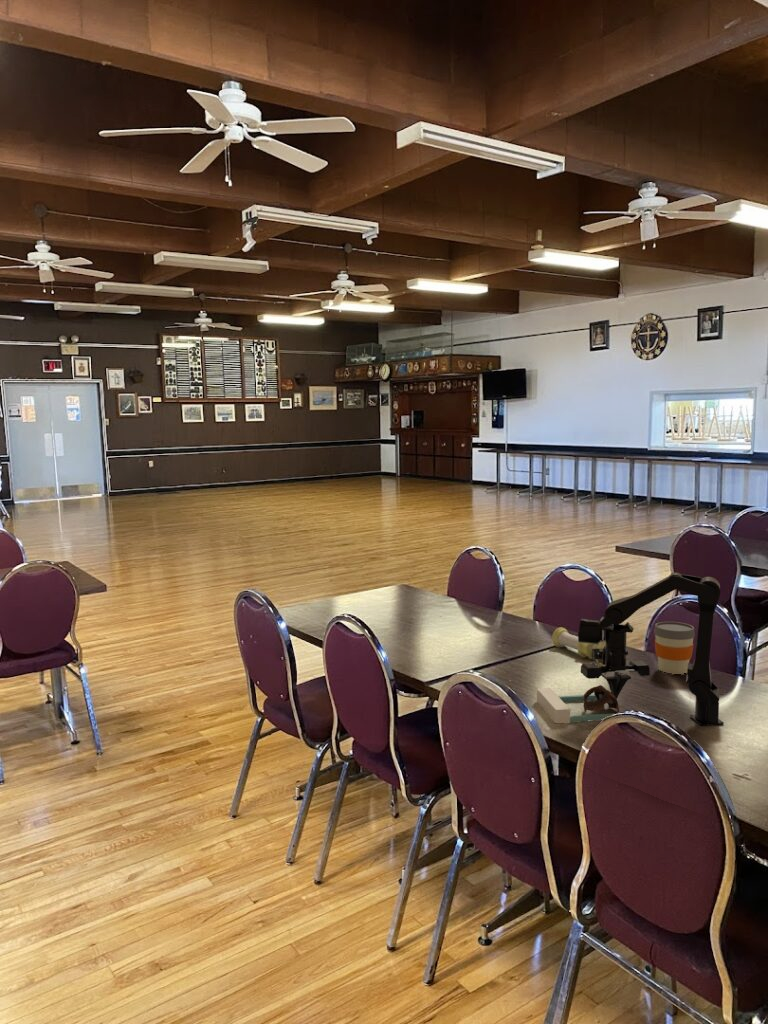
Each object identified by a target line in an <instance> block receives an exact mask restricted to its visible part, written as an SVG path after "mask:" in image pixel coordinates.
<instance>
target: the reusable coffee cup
mask: <svg viewBox="0 0 768 1024" xmlns="http://www.w3.org/2000/svg"><path fill="white" fill-rule="evenodd" d="M653 634H654V636H655V637H654V638H655V640H654V649H655V655H656V656H657V663H658V670H659V671H660V670H661V671H663V672H662V673H664V672H667V673H672V674H671V675H674V674H681V675H685V674H684V673H686V674H688V672H687V668H688V663H690V660H691V659H692V655H693V650H694V643H693V642H694V638H695V636H696V635H695V634H696V633H695V627H694V626H693V625H691V624H689V623H685V622H679V621H661V622H656V623H655V625H654V631H653ZM661 671H660V672H661ZM667 673H666V674H667Z"/></svg>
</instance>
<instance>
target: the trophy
mask: <svg viewBox="0 0 768 1024" xmlns="http://www.w3.org/2000/svg"><path fill="white" fill-rule="evenodd" d="M551 641H552V644H553V646H555V647H557V648H563V647H567V648H568V647H569V648H571V649H573V650H577V653H578V654H579V656H580V657H581V658H588V659H590V660H591V659H592V655H591V653H592V649H598V648H599V649H600V651H603V648H604V646H605V641H600V642H599V644H592V643H581V642H579V641H578V635H574V634H572V633H571V634H570V633H569V631H568V629H566V628H565V627H561V626H560V627H557V628H556V629H555V630H554V631H553V633H552V635H551ZM587 656H588V657H587ZM592 660H593V659H592ZM595 661H596V662H597V663H598V659H597V660H595ZM598 664H599V665H600V664H602V663H598ZM601 666H603V664H602V665H601Z"/></svg>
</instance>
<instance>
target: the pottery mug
mask: <svg viewBox="0 0 768 1024" xmlns="http://www.w3.org/2000/svg"><path fill="white" fill-rule="evenodd" d="M592 694H594V695H595V696H596V698H597V700H594V701H587V700H586V699H587V698H588V696H590V695H592ZM583 695H584V696H583V697H584V700H583V701H582V702H583V710H584V712H587V711H590V712H594V711H598V710H603V711H606V709H605V708H606V707H605V704H607V705H608V708H609V709H614V710H616V711H617V713H618V712H620V711H621V710H620V705H619V703H618V698H617V699H616V697H615V696H614V695H613V693H611V690H607V689H606V687H604V686H603V685H602V684H600V685H597V686H593V687H591V688H589V689H588V690H586V692H585V693H584V694H583ZM620 713H621V712H620Z"/></svg>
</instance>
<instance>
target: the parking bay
mask: <svg viewBox="0 0 768 1024" xmlns="http://www.w3.org/2000/svg"><path fill="white" fill-rule="evenodd" d="M583 696H584V694H574V695H557V693H555V691H554V690H553V689H552V688H551V687H541V688H536V702H537V704H538V705H539V706H540V707H541V708H542V709H543V711H544V712H545V714H547V716H548V717H549V718H550V719H551V720H552V721H553V723H554V724H555V723H565V724H570V723H575V722H574V721H588V720H601V719H603V718H605V717H607V716H610V715H612V714H615V712H614V713H598V714H596V713H595V714H582V715H580V714H579V715H578V714H575V715H571V709H570V706H569V707H568V705H567V704H566V703H569V702H584V701H583V700H584V697H583ZM586 700H587V701H588V700H594V701H596V700H597V698H596V696H595V695H594V693H592V694H591V695H590V696H588V698H587V699H586ZM588 722H589V721H588Z"/></svg>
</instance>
